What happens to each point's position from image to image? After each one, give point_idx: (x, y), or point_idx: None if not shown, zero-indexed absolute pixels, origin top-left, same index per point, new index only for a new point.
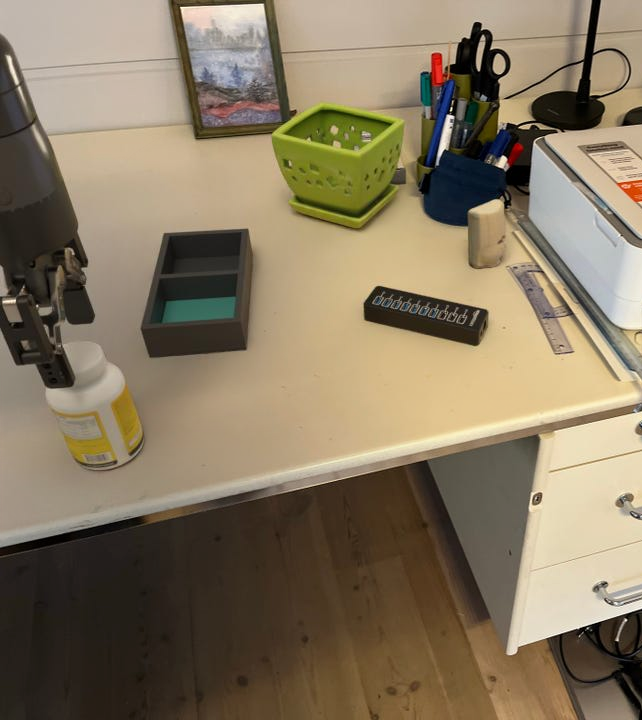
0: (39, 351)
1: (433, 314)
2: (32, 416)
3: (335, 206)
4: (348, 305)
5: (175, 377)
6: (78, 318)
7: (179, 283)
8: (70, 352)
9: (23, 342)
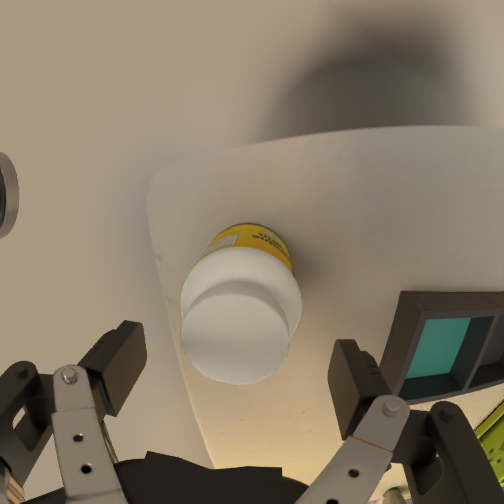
0: (19, 422)
1: None
2: (330, 160)
3: (496, 426)
4: None
5: (356, 322)
6: (334, 364)
7: (482, 330)
8: (252, 337)
9: (54, 392)
